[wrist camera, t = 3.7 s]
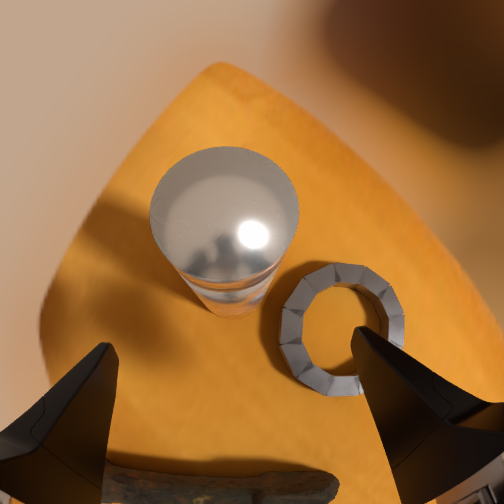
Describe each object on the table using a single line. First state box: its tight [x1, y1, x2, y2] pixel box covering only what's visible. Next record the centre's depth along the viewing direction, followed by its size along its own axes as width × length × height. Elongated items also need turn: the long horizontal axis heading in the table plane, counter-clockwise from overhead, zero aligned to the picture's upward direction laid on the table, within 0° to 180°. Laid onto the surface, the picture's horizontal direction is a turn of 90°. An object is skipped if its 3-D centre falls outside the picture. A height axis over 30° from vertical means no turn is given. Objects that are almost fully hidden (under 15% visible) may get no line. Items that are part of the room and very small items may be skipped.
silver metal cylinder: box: [150, 147, 299, 319], centre depth 15 cm, size 5×5×13 cm
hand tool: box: [101, 459, 340, 504], centre depth 14 cm, size 19×4×5 cm, turn 91°
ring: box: [277, 263, 404, 396], centre depth 20 cm, size 10×10×2 cm
